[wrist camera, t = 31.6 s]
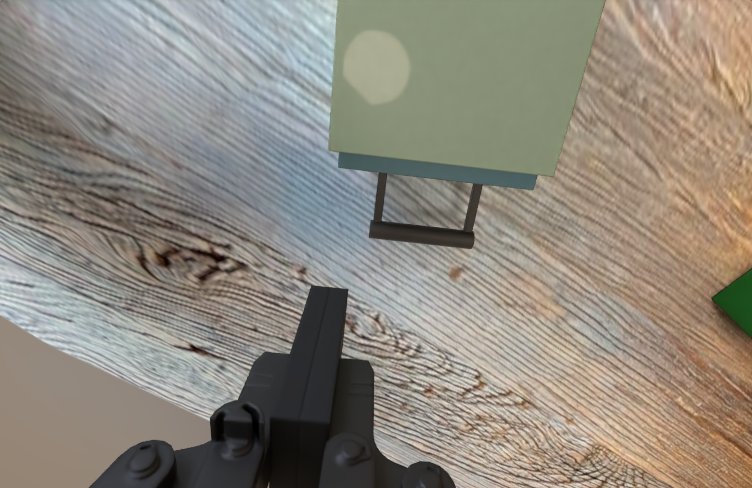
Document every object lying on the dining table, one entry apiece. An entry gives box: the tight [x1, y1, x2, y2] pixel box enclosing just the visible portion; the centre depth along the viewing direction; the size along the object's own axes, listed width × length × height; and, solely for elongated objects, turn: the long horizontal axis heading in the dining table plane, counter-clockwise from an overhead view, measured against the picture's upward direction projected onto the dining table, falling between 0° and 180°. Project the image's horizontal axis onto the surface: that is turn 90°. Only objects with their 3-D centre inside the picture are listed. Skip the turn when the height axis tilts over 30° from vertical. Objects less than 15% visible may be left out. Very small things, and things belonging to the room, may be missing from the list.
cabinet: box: [328, 0, 606, 177], centre depth 26 cm, size 17×14×10 cm
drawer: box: [338, 152, 538, 249], centre depth 27 cm, size 21×13×8 cm, turn 174°
